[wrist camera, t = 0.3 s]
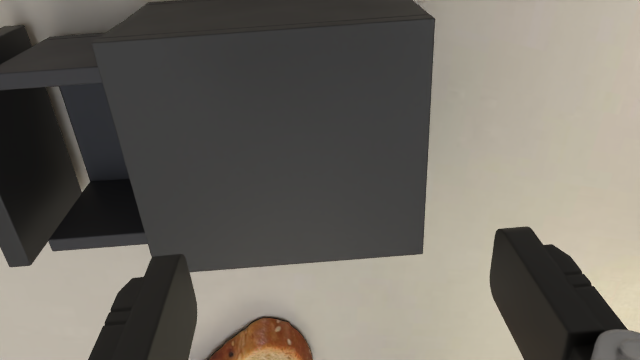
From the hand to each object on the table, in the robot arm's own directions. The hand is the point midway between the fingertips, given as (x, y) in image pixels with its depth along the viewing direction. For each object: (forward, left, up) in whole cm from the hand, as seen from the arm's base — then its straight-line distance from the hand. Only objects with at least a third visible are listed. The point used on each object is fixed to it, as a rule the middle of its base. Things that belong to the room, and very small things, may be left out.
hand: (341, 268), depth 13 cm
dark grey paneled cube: (+3, -2, -21) cm, 21 cm away
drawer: (+3, -13, -20) cm, 24 cm away
